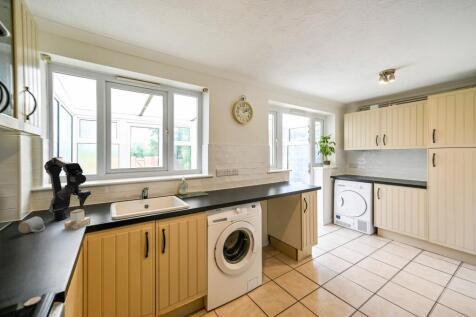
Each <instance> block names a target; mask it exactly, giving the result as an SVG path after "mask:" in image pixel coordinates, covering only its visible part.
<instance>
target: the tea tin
mask: <svg viewBox="0 0 476 317" xmlns="http://www.w3.org/2000/svg"><path fill="white" fill-rule="evenodd" d="M69 213H70V214H69V215H70V216H69V217H70V220H71V221H73V222H78V221H80V220H83V219H85V218H86V216H85V209H84V208H82V209H80V208H79V209H78V208H77V209H74V210H72V211H69Z"/></svg>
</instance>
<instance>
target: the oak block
mask: <svg viewBox="0 0 476 317" xmlns="http://www.w3.org/2000/svg"><path fill="white" fill-rule="evenodd" d="M91 220H92V219H91V217H87V216H85V219H83V220H80V221H78V222H73V221H71V219H70V220H68V221H66V222H63V223H64V225H63V226H64V230H80V229H81V227H82V228H84V227H85V226H84V225H86V224H88V223H89V224H91V223H92V222H91ZM90 222H91V223H90ZM89 224H88V225H89ZM83 226H84V227H83ZM86 226H87V225H86Z"/></svg>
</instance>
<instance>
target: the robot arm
mask: <svg viewBox="0 0 476 317" xmlns="http://www.w3.org/2000/svg"><path fill="white" fill-rule="evenodd" d="M43 167H44V170H45V173H46V174H47V175H49V178H50V184H51V189H52V196H53V197H52V198H51V200H50V205H49V207H48V212H49V213H51V214H52V219H51V220H50V221H51V222H59V221H62V220H65V219H68V218H69V217H68V216H67V213H66V210H68V209H69V207H70V205H71V204H70V203H71V197H72V196H77V199H78V200H79V201H78V202H79V206H80V208H83V206H84V205H85V202H86V201H87V199H88V197H90V196H91V195H92V193H91V191H90V190H82V189H80V186H81V185H83V184H84V183H86V181H87V177H86V175H85V174H83V173H84V170H83V167H81V165H80V164H79V162H76V161H74V162H73V161H69V160H68V159H65V158H64V157H61V156H54V157H52V158H51V159H50V160H48V161H46V162H45V164H44V166H43ZM62 171H63V172H64V173H65V176H66V177H65V178H66V184H65V185H64V188H62V183H61V176H60V174H61V172H62Z"/></svg>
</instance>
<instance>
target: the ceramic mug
mask: <svg viewBox="0 0 476 317" xmlns="http://www.w3.org/2000/svg"><path fill="white" fill-rule="evenodd" d="M17 229H18V231H19V232H20V233H21V234H29V233H32V232H33V233H40V232H43V231H44V230H45V222H44V220H43V218H42V217H40V216H33V217H30V218H28V219H26V220H24V221H22V222H20V223H19V224H18V227H17Z"/></svg>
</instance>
